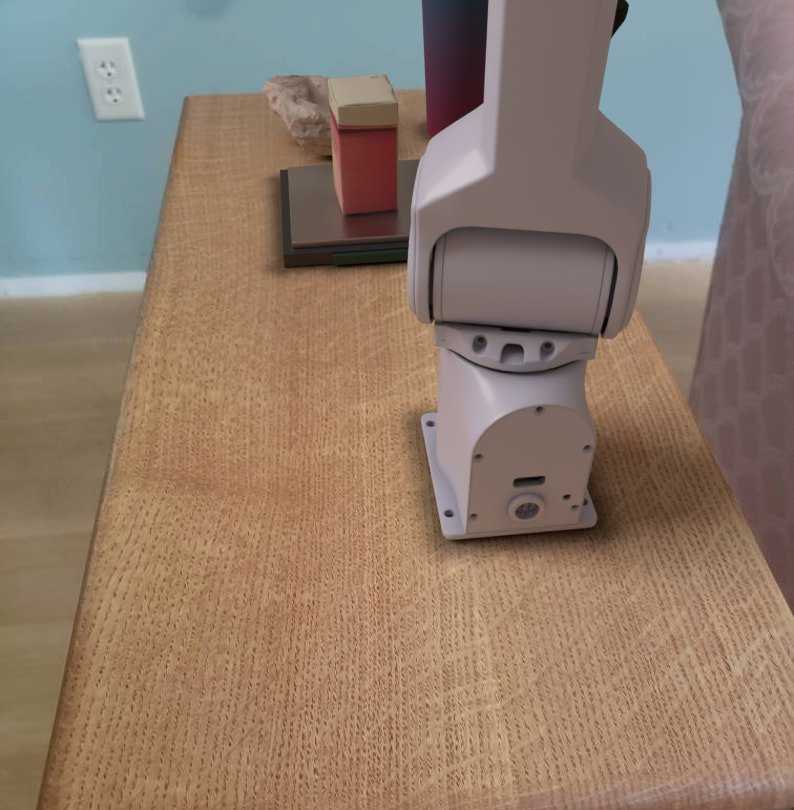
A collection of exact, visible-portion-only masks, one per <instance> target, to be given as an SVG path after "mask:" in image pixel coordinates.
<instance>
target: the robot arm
mask: <svg viewBox="0 0 794 810" xmlns="http://www.w3.org/2000/svg"><path fill="white" fill-rule="evenodd" d="M629 7H630V5H629V2H628V1H627V0H489V2H488V23H487V44H486V65H485V86H484V103H483V104H482V105H480V106H479V107H478V108H476V109H475V110H473V111H472V112H470V113H469V114H467V115H465V116H464V117H462V118H461V119H459V120H458V121H456V122H454V123H453V124H451V125H450V126H448V127H447V128H445V129H444V130H442V131H441V132H439V133H438V134H437V135H435V136H434V137H431V139H430V140H429V141H428V143H427V146H426V148H425V152H424V154H423V155H422V156H421V157H420V158H419V159H420V162H419V166H418V170H417V174H416V179H415V184H414V190H413V197H412V204H411V228H410V237H409V249H408V260H407V269H406V270H407V273H406V277H407V278H406V288H407V289H406V290H407V291H406V292H407V302H408V307H409V309H410V311H411V312H412V313H413V314H414V315H415V316H416V318H417V321H418V322H419V323H420V324H427V325H432V324H433V345H434V346H435V347H439V351H438V352H439V353H438V386H437V411H435V412H433V411H432V412H426V413H424V414H422V416H421V418H420V424H421V430H422V435H423V441H424V446H425V451H426V456H427V460H428V468H429V471H430V477H431V481H432V482H431V483H432V486H433V492H434V496H435V497H434V498H435V503H436V507H437V512H438V517H439V523H440V528H441V533H442V535H443V537H444V538H445V539H447V540H452V541H453V540H465V539H477V538H489V537H499V536H500V537H501V536H510V535H511V536H512V535H521V534H533V533H545V532H556V531H557V532H558V531H568V530H579V529H589V528H590V529H591V528H592V527H595V526H596V524H597V521H598V515H597V512H596V509H595V506H594V503H593V500H592V498H591V495H590V492H589V490H588V489H589V488H588V484H589V479H590V475H591V469H592V465H593V461H594V455H595V452H596V448H597V430H596V426H595V423H594V420H593V417H592V415H591V412H590V408H589V405H588V401H587V395H586V385H585V382H586V374H587V373H586V372H587V367H588V362H589V361H593V360H595V357H596V352H597V348H598V343H599V338H601V339H604V340H613V339H616V337H617V336H618V334H619V333H621V332H623V331H624V329H626V328H627V327H628V326H629V325H630V322H631V319H632V317H633V313H634V310H635V308H636V307H635V306H636V303H637V298H638V293H639V290H640V289H639V288H640V284H641V279H642V273H643V272H642V271H643V267H644V260H645V259H644V258H645V250H646V242H647V235H648V232H649V229H650V222H651V221H650V220H651V208H652V190H653V189H652V188H653V187H652V186H653V185H652V173H651V170H650V169H649V167H648V159H647V154H646V152H645V151H644V150H643V149H642V147H641V146H640V145H639V144H638V143H636V141H634V140H633V139H632V138H631V137H630V136H629V135H628V134H627V133H625V132H624V131H623V130H622V129H621V128H619V127H618V125H616V124H615V123H614V122H613V121H612V120H610V119H609V118H608V117H607V116H606V114H604V113H603V112H602V111H601V110H600V109H599V108H600V102H601V96H602V92H603V85H604V80H605V75H606V69H607V64H608V63H607V62H608V57H609V52H610V47H611V46H610V45H611V41H612V39H613V37H614V35H615V34H616V33H617V31H618V30H619V29H620V28H621V26H622V25H623V23H624V22H625V21H626V18H627V16H628V14H629V13H628V12H629ZM599 336H600V337H599Z"/></svg>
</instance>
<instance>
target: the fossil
mask: <svg viewBox="0 0 794 810" xmlns="http://www.w3.org/2000/svg"><path fill="white" fill-rule="evenodd" d="M329 78H330V77H324V76H321V75H319V74H316V75H313V74H312V75H310V74H308V75H298V74H289V75H275V76H273V77H271V78H268V79H267V80H266V81H265V82H264V83H263V85H262V93H264V95H265V96H266V98H267V99H268V107H269V109H270V111H271V112H272V113H273V114H275V115H276V116H278V117H280V118H281V120H282V122H283V123H284V125H285V126H286V128H287V130H288V131H289V133H290V135H291V137H293V138H294V139H295V140H296V143H298V145H299V146H301V147H302V148H303V149H305V150H306V151H308V152H309V153H313V154H314V155H317V156H327V157H328V156H332V138H331V121H330V103H329V88H328V79H329Z"/></svg>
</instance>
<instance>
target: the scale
mask: <svg viewBox="0 0 794 810" xmlns="http://www.w3.org/2000/svg"><path fill="white" fill-rule="evenodd" d="M420 159H421V158H418V159H416V158H415V159H402V160H401V159H400V160H399V159H398V209H397V210H387V211H379V212H368V213H356V214H346V215H345V214H343V213H342V210H341V207H340V204H339V201H338V198H337V194H336V190H335V186H334V175H333V163H332V164H319V165H318V164H317V165H301V166H299V165H298V166H288V167H287V169H280V170H279V189H280V217H281V218H280V219H281V240H282V241H281V243H282V259H283V267H284V268H293V267H306V266H321V265H333V266H341V265H357V264H372V263H384V262H385V263H387V262H400V261H401V262H402V261H408V249H409V237H410V228H411V204H412V197H413V190H414V184H415V179H416V174H417V170H418V166H419V162H420Z"/></svg>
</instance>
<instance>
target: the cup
mask: <svg viewBox="0 0 794 810" xmlns="http://www.w3.org/2000/svg"><path fill="white" fill-rule="evenodd" d="M488 2H489V0H421V15H422V16H421V17H422V39H423V40H422V41H423V61H424V62H423V63H424V85H425V111H426V131H427V134H428V135H429V136H430V137H431V138H433V137H434V136H435V135H437V134H438V133H439V132H441V131H442V130H444V129H445V128H447V127H448V126H450V125H451V124H453V123H454V122H456V121H458V120H459V119H461V118H462V117H464V116H465V115H467V114H469V113H470V112H472V111H473V110H475V109H476V108H478V107H479V106H480V105H482V104H483V103H484V86H485V65H486V44H487V23H488Z"/></svg>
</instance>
